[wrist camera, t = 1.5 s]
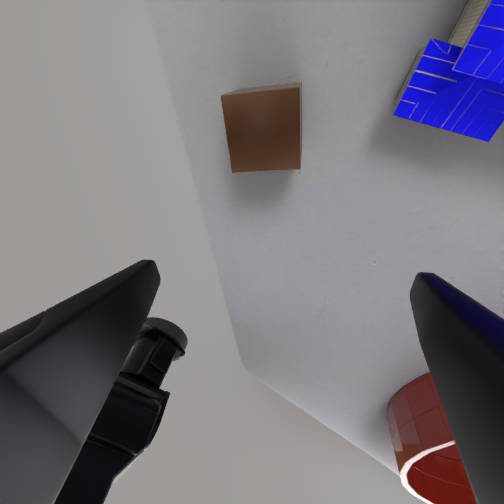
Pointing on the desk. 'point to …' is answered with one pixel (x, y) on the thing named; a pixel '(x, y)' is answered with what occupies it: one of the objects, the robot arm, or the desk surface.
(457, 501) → the red round bowl
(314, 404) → the desk surface
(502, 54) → the house
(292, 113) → the block
